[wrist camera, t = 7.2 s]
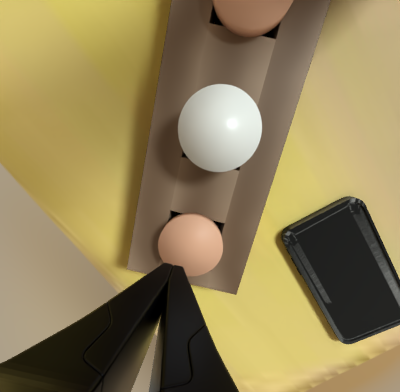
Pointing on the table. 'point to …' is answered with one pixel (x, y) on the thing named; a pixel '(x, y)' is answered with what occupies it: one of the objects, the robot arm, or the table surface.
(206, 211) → the knob mount
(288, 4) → the knob
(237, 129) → the middle knob
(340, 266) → the phone
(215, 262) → the knob
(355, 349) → the table surface
